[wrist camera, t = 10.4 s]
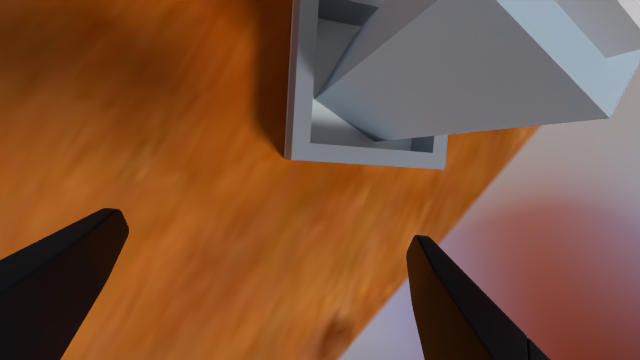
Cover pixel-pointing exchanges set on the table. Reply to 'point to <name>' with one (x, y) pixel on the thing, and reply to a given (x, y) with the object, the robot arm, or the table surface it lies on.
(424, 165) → the tray
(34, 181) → the table surface
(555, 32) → the tall grey rectangular prism
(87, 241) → the robot arm
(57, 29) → the table surface
